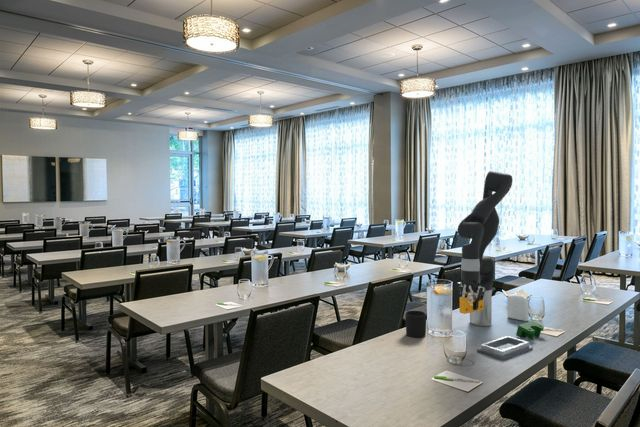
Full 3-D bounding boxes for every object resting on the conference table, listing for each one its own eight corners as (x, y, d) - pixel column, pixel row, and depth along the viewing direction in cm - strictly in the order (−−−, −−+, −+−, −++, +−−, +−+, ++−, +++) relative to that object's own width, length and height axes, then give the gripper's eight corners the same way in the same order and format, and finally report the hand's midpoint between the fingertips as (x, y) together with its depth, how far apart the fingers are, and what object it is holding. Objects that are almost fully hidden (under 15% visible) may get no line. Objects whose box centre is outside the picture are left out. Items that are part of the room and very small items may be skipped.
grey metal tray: (477, 351, 186) (477, 344, 186) (506, 341, 197) (506, 334, 197) (503, 360, 176) (503, 352, 176) (532, 349, 187) (532, 342, 187)
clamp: (528, 349, 200) (528, 333, 196) (516, 342, 205) (515, 327, 201) (545, 334, 205) (545, 319, 201) (533, 328, 210) (532, 313, 205)
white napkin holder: (505, 317, 233) (506, 293, 233) (510, 316, 236) (510, 292, 235) (525, 322, 225) (525, 297, 225) (529, 320, 228) (530, 295, 227)
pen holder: (430, 334, 209) (430, 312, 208) (419, 339, 202) (419, 317, 201) (412, 330, 215) (412, 309, 215) (401, 335, 208) (401, 313, 208)
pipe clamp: (475, 307, 200) (475, 292, 200) (483, 309, 196) (483, 294, 196) (456, 311, 194) (456, 296, 193) (464, 313, 190) (464, 298, 190)
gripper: (451, 267, 198) (451, 306, 199) (479, 272, 186) (478, 313, 187) (462, 265, 202) (462, 303, 203) (490, 270, 190) (490, 310, 191)
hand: (470, 308), depth 195 cm, fingers closed on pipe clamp, 4 cm apart
